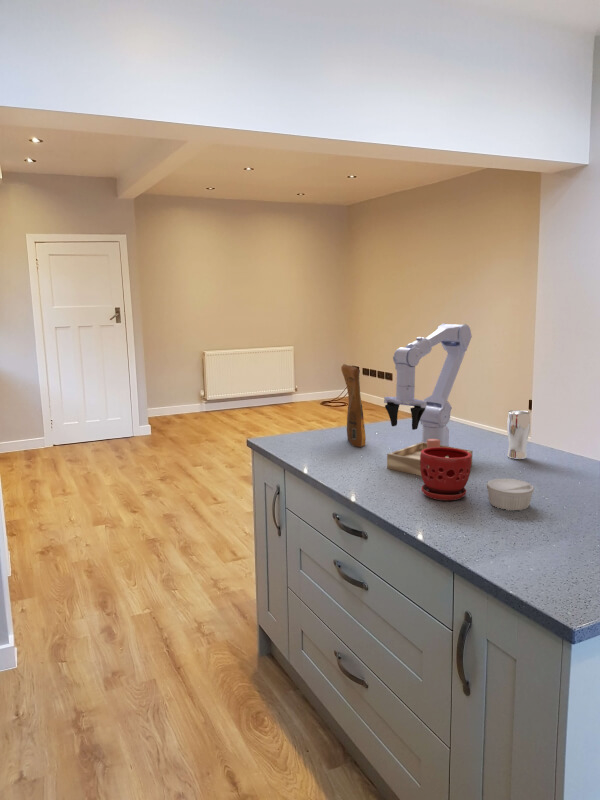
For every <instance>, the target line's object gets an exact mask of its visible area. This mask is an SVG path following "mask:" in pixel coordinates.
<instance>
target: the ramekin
mask: <svg viewBox="0 0 600 800" xmlns="http://www.w3.org/2000/svg"><path fill="white" fill-rule="evenodd" d="M486 488H487V493H488V500H489V503H490V505H491V506H492V507H494V506H495V507H494V508H496V507H497V508H496V509H499V508H501V509H500V510H502V509H506V510H505V511H509V510H520V511H523V510H522V509H524V510H526V509H527V508H529V506H530V504H531V501H532V496H533V493H534V490H535V489H534V486H533V485H532V484H531V483H529V482H527V481H524V480H521V479H520V480H519V479H513V478H495V479H491V480H488V482H487V483H486Z"/></svg>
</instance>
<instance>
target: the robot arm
mask: <svg viewBox="0 0 600 800" xmlns="http://www.w3.org/2000/svg"><path fill="white" fill-rule="evenodd" d="M472 336H473V335H472V330H471V328H470V326H469V325H468V324H466V323H465V324H460V323H459V324H455V323H451V324H450V323H441V324H440V325H438V326H437V329H436V330H434V331H433V332H432V333H430V334H429V335H428V336H426V337H423V336H417V337H416V340H414V341H412V342H411V343H408V344H406V346H405V347H401V346H400V347H399V348H397V349H396V350H395V352H394V354H393V356H392V360H393V363H394V365H395V366H394V367H395V370H396V384H395V385H396V392H395V396H384V398H383V399H384V401H383V403H384V404H385V405H384V408H385V410H386V412H387V413H388V416H389V419H390V423H391V427H396V426H397V425H398V415H399V413H398V412H399V409H400V405H401V406H408V407H410V409H409V410H410V414H411V430H413V431H415V430H417V429H418V427H419V423H420V425H421V427H422V430H421V431H422V432H421V433H422V435H421V436H422V437H421V438H422V439H421V442H425V443H427V440H428V439H438V440H440V445H442V446H448V447H450V446H449V445H450V441H449V440H450V429H449V428H448V426H447V424H449V422H450V419H451V411H452V405H451V404H450V402H449V401H448V400H449V398H450V397H449V396H450V394H451V391H452V390H453V387H454V383H455V381H456V378H457V376H458V374H459V370H460V367H461V364H462V363H463V360H464V356H466V355H465V354H466V352H467V351H468V348H469V345H470V342H471V340H472V338H473V337H472ZM438 344H441V347H442V348H443V350H444V351H446V352H447V354H446V358H445V361H444V363H443V365H442V367H441V370H440V372H439V376H438V379H437V381H436V383H435V386H434V388H433V391H432V394H431V395H430V396H427V397H426V398H424V399H422V400H420V399H418V398H417V399H416V398H415V390H416V387H415V386H416V385H415V383H416V382H415V381H416V366H418V364H419V363H420V361H421V359H422V358H424V357H425V356H427V355H428V354H430V353H431V352H432V348H433V347H435V346H437V345H438Z"/></svg>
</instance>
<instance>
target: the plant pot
mask: <svg viewBox="0 0 600 800" xmlns="http://www.w3.org/2000/svg"><path fill="white" fill-rule="evenodd" d="M455 448H456V447H454V448H447V447H433V448H426V449H423V450H422V451H421V454H420V470H421V476H420V477H421V479H422V482H423V485H422V486H421V491H422V493H423V494H424V495H425V496H426V497H428V498H431V499H434V500H436V501H456V500H459V499H462V498H463V497H464V496H466V494H467V489H466V488H465V486H466V485H467V483H468V481H469V478H470V475H471V474H470V473H471V468H472V465H471V460H472V461H473V454H472V455H471V453H469V452H467V451H464V450H461V449H462V448H459V449H455ZM446 456H449V458H445V457H446ZM428 465H429V468H428Z"/></svg>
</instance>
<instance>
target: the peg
mask: <svg viewBox="0 0 600 800" xmlns="http://www.w3.org/2000/svg"><path fill="white" fill-rule="evenodd" d="M433 447H440V440H438V439H428V440H427V448H433Z"/></svg>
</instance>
